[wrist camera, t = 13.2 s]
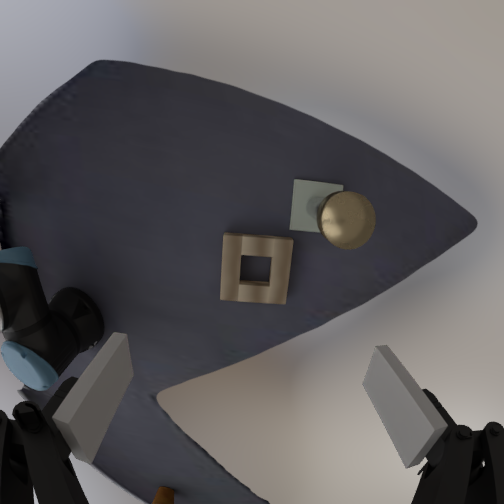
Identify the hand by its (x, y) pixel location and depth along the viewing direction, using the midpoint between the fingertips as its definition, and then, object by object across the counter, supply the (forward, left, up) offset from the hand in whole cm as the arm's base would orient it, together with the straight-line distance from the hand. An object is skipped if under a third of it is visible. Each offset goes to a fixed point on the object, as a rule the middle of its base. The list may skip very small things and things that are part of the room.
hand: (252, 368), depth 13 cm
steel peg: (+12, +6, -37) cm, 40 cm away
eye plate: (+2, -6, -38) cm, 39 cm away
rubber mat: (+12, +6, -38) cm, 40 cm away
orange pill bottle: (-25, -102, -38) cm, 112 cm away
